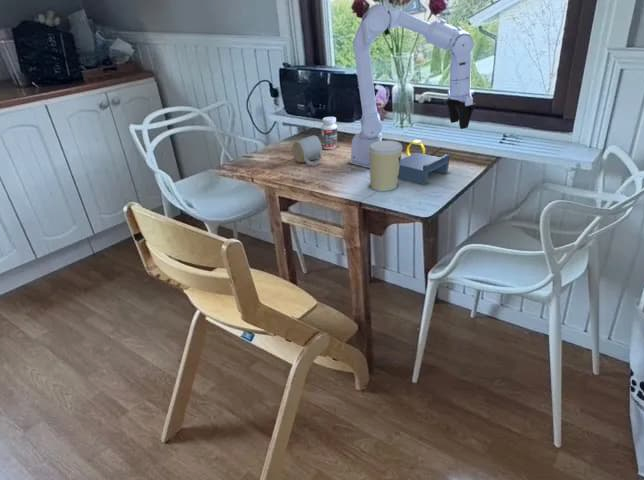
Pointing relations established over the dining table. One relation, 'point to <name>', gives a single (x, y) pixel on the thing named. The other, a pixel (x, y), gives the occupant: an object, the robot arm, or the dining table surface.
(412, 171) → the blue stand
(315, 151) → the ceramic mug
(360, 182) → the dining table surface
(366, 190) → the dining table surface
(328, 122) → the pill bottle
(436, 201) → the dining table surface
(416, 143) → the watch
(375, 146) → the coffee cup
